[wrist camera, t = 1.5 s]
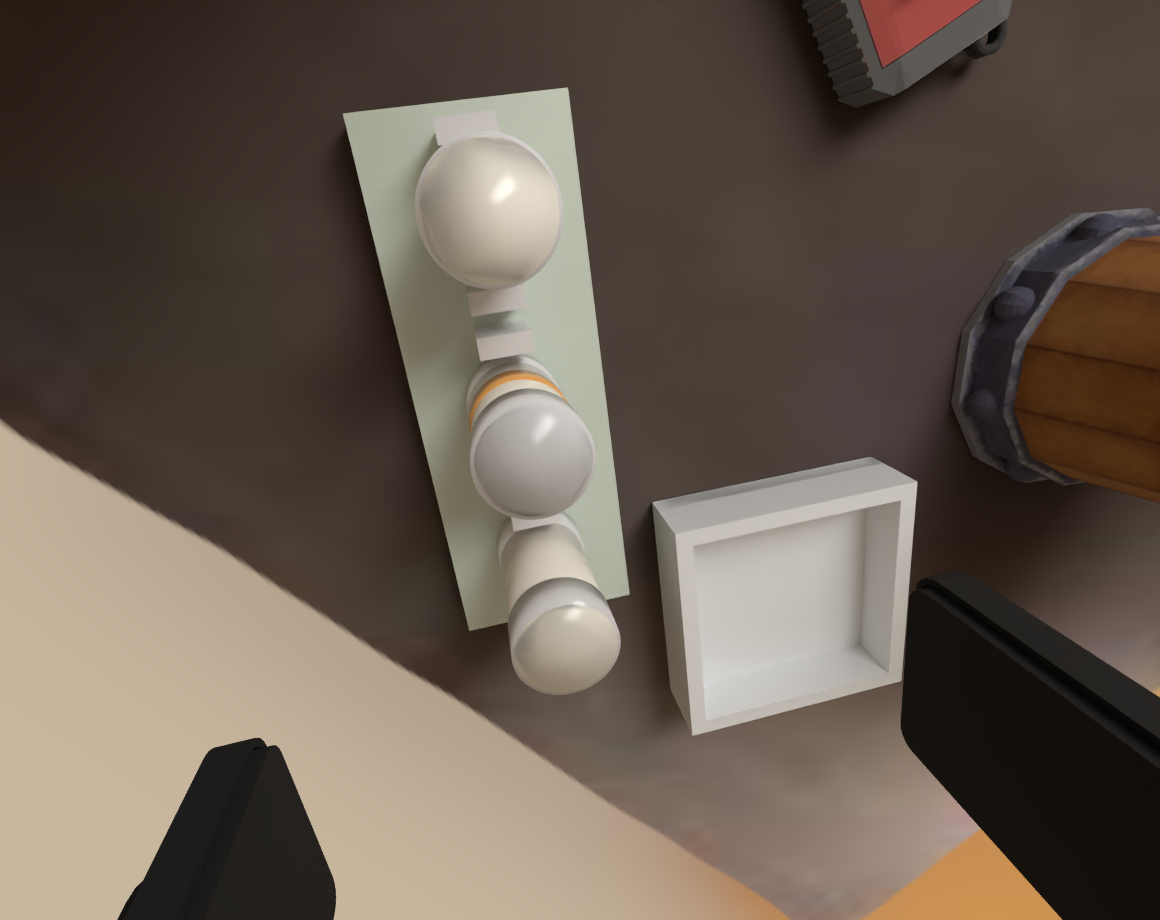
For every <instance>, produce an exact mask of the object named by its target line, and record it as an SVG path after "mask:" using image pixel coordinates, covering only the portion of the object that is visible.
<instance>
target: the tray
mask: <svg viewBox="0 0 1160 920" xmlns="http://www.w3.org/2000/svg"><path fill="white" fill-rule="evenodd" d="M916 493H917V481H915V480H913V479H911V478H910V477H908V476H906V475H904V474H902V473H900V472H898V471H897V470H895V469H893V468H891V467H889V466H887V465H885V464H884V463H882V462H880V461H878V460H876V459H874V458H872V457H867V458H862V459H857V460H852V461H848V462H843V463H838V464H833V465H829V466H824V467H819V468H814V469H809V470H805V471H800V472H795V473H790V474H785V475H781V476H776V477H771V478H766V479H761V480H757V481H752V482H747V483H742V484H737V485H733V486H728V487H723V488H718V489H714V490H709V491H704V492H699V493H694V494H690V495H685V496H680V497H675V498H670V499H666V500H661V501H656V502H652V507H653V517H654V527H655V537H656V548H657V558H658V568H659V578H660V588H661V598H662V608H663V618H664V629H665V639H666V649H667V659H668V669H669V679H670V689H671V692H672V694H673V696H674V698H675V700H676V702H677V704H678V706H679V709H680V711H681V713H682V715H683V717H684V719H685V721H686V723H687V726H688V728H689V730H690V732H691V734H692V736H694V735H698V734H702V733H705V732H709V731H713V730H717V729H721V728H725V727H728V726H732V725H736V724H740V723H744V722H747V721H751V720H755V719H759V718H763V717H766V716H770V715H774V714H778V713H782V712H786V711H789V710H793V709H797V708H801V707H805V706H808V705H812V704H816V703H820V702H824V701H827V700H831V699H835V698H839V697H843V696H847V695H850V694H854V693H858V692H862V691H866V690H869V689H873V688H877V687H881V686H885V685H888V684H892V683H896V682H900V681H901V679H902V666H903V654H904V642H905V629H906V617H907V604H908V592H909V580H910V567H911V555H912V543H913V530H914V518H915V505H916Z"/></svg>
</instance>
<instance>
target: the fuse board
mask: <svg viewBox="0 0 1160 920" xmlns="http://www.w3.org/2000/svg"><path fill="white" fill-rule="evenodd" d="M343 116H344V120H345V125H346V129H347V133H348V137H349V141H350V145H351V149H352V153H353V157H354V161H355V165H356V169H357V174H358V178H359V182H360V186H361V190H362V194H363V198H364V202H365V206H366V210H367V214H368V219H369V223H370V227H371V231H372V235H373V239H374V243H375V247H376V251H377V255H378V259H379V263H380V268H381V272H382V276H383V280H384V284H385V288H386V292H387V296H388V300H389V304H390V308H391V313H392V317H393V321H394V325H395V329H396V333H397V337H398V341H399V345H400V349H401V353H402V357H403V362H404V366H405V370H406V374H407V378H408V382H409V386H410V390H411V394H412V398H413V402H414V407H415V411H416V415H417V419H418V423H419V427H420V431H421V435H422V439H423V443H424V447H425V452H426V456H427V460H428V464H429V468H430V472H431V476H432V480H433V484H434V488H435V492H436V496H437V501H438V505H439V509H440V513H441V517H442V521H443V525H444V529H445V533H446V537H447V541H448V546H449V550H450V554H451V558H452V562H453V566H454V570H455V574H456V578H457V582H458V586H459V590H460V595H461V599H462V603H463V607H464V611H465V615H466V619H467V623H468V627H469V631H472V630H476V629H480V628H485V627H489V626H493V625H498V624H502V623H507V622H508V619H509V614H508V607H507V599H506V592H505V585H504V577H503V575H502V573H501V570H500V565H499V558H498V550H497V537H498V533H499V530H500V528H501V526H502V524H503V523H504V521H505V520H506V519H507V518H508V517H509V516H507V515H504V514H502V513H500V512H498V511H497V510H495V509H494V508H492V507H491V506H490V505H489V504H488V503H487V502H486V501H485V500H484V499H483V498H482V497H481V495H480V494H479V492H478V491H477V489H476V487H475V484H474V482H473V479H472V475H471V469H470V455H469V440H470V431H469V419H468V415H467V405H466V391H467V386H468V382H469V380H470V377H471V375H472V374H473V372H474V371H475V369H476V368H477V367H478V366H479V365H480V364H481V363H482V362H484V361H485V360H491V359H497V358H503V357H509V356H514V355H520V354H526V355H529V356H531V357H533V358H535V359H537V360H538V361H539V362H541V363H542V364H543V365H544V366H545V367H546V368H547V370H548V371H549V372H550V374H551V375H552V377H553V378H554V380H555V381H556V383H557V385H558V387H559V390H560V391H561V393H562V394H563V396H564V397H565V399H566V400H567V402H568V403H569V404H570V405H571V406H572V407H573V408H574V410H575V411H576V412H577V414H578V415H579V417H580V418H581V420H582V421H583V423H584V424H585V426H586V427H587V429H588V430H589V432H590V434H591V436H592V439H593V442H594V446H595V451H596V465H595V470H594V474H593V477H592V480H591V482H590V484H589V486H588V488H587V489H586V491H585V492H584V494H583V495H582V496H581V497H580V499H579V500H578V501H577V502H575V503H574V504H573V505H572V506H571V507H569V508H568V509H566V510H565V512H566V513H567V514H568V515H569V516H570V517H571V518H572V520H573V521H574V523H575V525H576V528H577V530H578V532H579V535H580V537H581V540H582V542H583V545H584V551H585V556H586V558H587V561H588V563H589V566H590V568H591V571H592V573H593V576H594V578H595V581H596V583H597V586H598V588H599V591H600V592H601V593H602V594H603V595H604V597H605V599H606V600H608V599H612V598H616V597H621V596H625V595H630V594H629V586H628V577H627V569H626V561H625V553H624V544H623V536H622V528H621V520H620V512H619V503H618V495H617V487H616V479H615V471H614V462H613V454H612V446H611V438H610V429H609V421H608V413H607V405H606V397H605V388H604V380H603V372H602V364H601V356H600V347H599V339H598V331H597V323H596V314H595V306H594V298H593V290H592V282H591V273H590V265H589V257H588V249H587V241H586V232H585V224H584V216H583V208H582V199H581V191H580V183H579V175H578V167H577V158H576V150H575V142H574V134H573V126H572V117H571V109H570V101H569V93H568V88H560V89H552V90H543V91H534V92H526V93H517V94H508V95H500V96H491V97H482V98H474V99H465V100H456V101H448V102H439V103H430V104H422V105H413V106H404V107H396V108H387V109H379V110H370V111H361V112H353V113H344V114H343ZM475 131H494V132H500V133H504V134H507V135H510V136H512V137H515V138H517V139H519V140H521V141H522V142H524V143H526V144H527V145H528V146H530V147H531V148H532V149H534V150H535V151H536V152H537V153H538V154H539V155H540V156H541V157H542V158H543V160H544V161H545V162H546V163H547V165H548V166H549V168H550V170H551V171H552V173H553V175H554V177H555V179H556V181H557V183H558V186H559V190H560V193H561V197H562V203H563V226H562V232H561V236H560V240H559V243H558V245H557V248H556V250H555V252H554V254H553V255H552V257H551V259H550V260H549V261H548V263H547V264H546V265H545V266H544V268H543V269H542V270H541V271H540V272H538V273H537V274H536V275H535V276H533V277H532V278H531V279H529V280H527V281H526V282H524V283H522V284H519V285H517V286H514V287H510V288H506V289H498V290H488V289H481V288H476V287H472V286H469V285H466V284H464V283H462V282H460V281H458V280H456V279H455V278H453V277H452V276H450V275H449V274H448V273H446V272H445V271H444V270H443V269H442V268H441V267H440V266H439V265H438V264H437V263H436V262H435V261H434V259H433V258H432V257H431V255H430V254H429V253H428V251H427V249H426V247H425V246H424V244H423V241H422V239H421V237H420V234H419V231H418V227H417V223H416V217H415V195H416V189H417V185H418V181H419V178H420V176H421V173H422V171H423V169H424V167H425V165H426V164H427V162H428V161H429V159H430V158H431V157H432V155H433V154H434V153H435V152H436V151H437V150H438V149H439V148H440V147H441V146H443V145H444V144H445V143H447V142H448V141H450V140H452V139H454V138H455V137H457V136H460V135H463V134H466V133H470V132H475ZM511 520H512V525H513V530H514V531H518V530H523V529H528V528H533V527H538V526H542V525H547V524H552V523H557V522H561V521H562V516H561V513H559V514H556V515H554V516H551V517H548V518H544V519H537V520H524V519H517V518H513V517H511Z"/></svg>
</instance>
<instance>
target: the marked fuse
mask: <svg viewBox="0 0 1160 920" xmlns="http://www.w3.org/2000/svg"><path fill="white" fill-rule="evenodd" d="M466 405H467V415H468V419H469V431H470V440H469V455H470V469H471V475H472V479H473V482H474V484H475V487H476V489H477V491H478V492H479V494H480V495H481V497H482V498H483V499H484V500H485V501H486V502H487V503H488V504H489V505H490V506H491V507H492V508H494V509H495V510H497V511H498V512H500V513H502V514H504V515H507V516H510V517H513V518H517V519H524V520H537V519H544V518H548V517H551V516H554V515H556V514H559V513H561V512H563V511H565V510H566V509H568V508H569V507H571V506H572V505H573V504H574V503H575V502H577V501H578V500H579V499H580V497H581V496H582V495H583V494H584V492H585V491H586V489H587V488H588V486H589V484H590V482H591V480H592V477H593V474H594V470H595V465H596V451H595V446H594V442H593V439H592V436H591V434H590V432H589V430H588V429H587V427H586V426H585V424H584V423H583V421H582V420H581V418H580V417H579V415H578V414H577V412H576V411H575V410H574V408H573V407H572V406H571V405H570V404H569V403H568V402H567V400H566V399H565V397H564V396H563V394H562V393H561V391H560V390H559V387H558V385H557V383H556V381H555V380H554V378H553V377H552V375H551V374H550V372H549V371H548V370H547V368H546V367H545V366H544V365H543V364H542V363H541V362H539V361H538V360H537V359H535V358H533V357H531V356H529V355H526V354H520V355H514V356H509V357H503V358H497V359H491V360H485V361H484V362H482V363H481V364H480V365H479V366H478V367H477V368H476V369H475V371H474V372H473V374H472V375H471V377H470V380H469V382H468V386H467V391H466Z"/></svg>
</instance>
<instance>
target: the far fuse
mask: <svg viewBox="0 0 1160 920" xmlns="http://www.w3.org/2000/svg"><path fill="white" fill-rule="evenodd" d="M561 516H562V521H561V522H557V523H552V524H547V525H542V526H538V527H533V528H528V529H523V530H518V531H514V530H513V525H512V520H511V517H510V516H509V517H508V518H507V519H506V520H505V521H504V523H503V524H502V526H501V528H500V530H499V533H498V537H497V550H498V558H499V565H500V570H501V573H502V575H503V577H504V585H505V592H506V599H507V607H508V614H509V619H508V634H509V642H510V650H511V657H512V664H513V667H514V669H515V671H516V674H517V675H518V676H519V678H520V679H521V680H522V681H523V682H524V683H525V684H526V685H528V686H529V687H531V688H533V689H534V690H537V691H539V692H543V693H546V694H553V695H563V694H571V693H575V692H579V691H582V690H584V689H587V688H589V687H590V686H592V685H594V684H595V683H597V682H598V681H600V680H601V679H602V678H603V677H604V676H605V675H606V674H607V673H608V672H609V671H610V670H611V668H612V667H613V665H614V664H615V662H616V660H617V657H618V655H619V651H620V643H621V642H620V634H619V630H618V628H617V625H616V623H615V620H614V618H613V615H612V613H611V610H610V608H609V606H608V603H607V601H606V599H605V597H604V595H603V594H602V593H601V592H600V591H599V588H598V586H597V583H596V581H595V578H594V576H593V573H592V571H591V568H590V566H589V563H588V561H587V558H586V556H585V551H584V545H583V542H582V540H581V537H580V535H579V532H578V530H577V528H576V525H575V523H574V521H573V520H572V518H571V517H570V516H569V515H568V514H567V513H566V512H565V511H563V512H561Z"/></svg>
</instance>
